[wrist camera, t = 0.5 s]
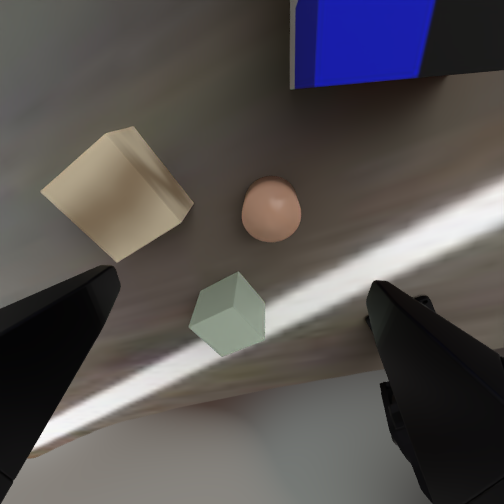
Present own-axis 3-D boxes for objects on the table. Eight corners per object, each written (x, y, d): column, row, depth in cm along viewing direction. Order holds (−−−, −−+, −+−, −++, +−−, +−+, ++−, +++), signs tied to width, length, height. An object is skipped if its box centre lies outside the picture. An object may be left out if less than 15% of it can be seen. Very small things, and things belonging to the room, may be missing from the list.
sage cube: (264, 302, 27) (264, 340, 23) (228, 318, 29) (221, 356, 25) (238, 270, 25) (233, 306, 21) (200, 290, 27) (188, 327, 23)
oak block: (194, 202, 22) (181, 222, 18) (138, 238, 24) (116, 262, 20) (134, 126, 19) (105, 133, 15) (76, 175, 21) (40, 191, 17)
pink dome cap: (306, 209, 21) (311, 224, 19) (262, 233, 23) (262, 251, 20) (280, 164, 19) (282, 175, 17) (234, 194, 21) (230, 208, 18)
